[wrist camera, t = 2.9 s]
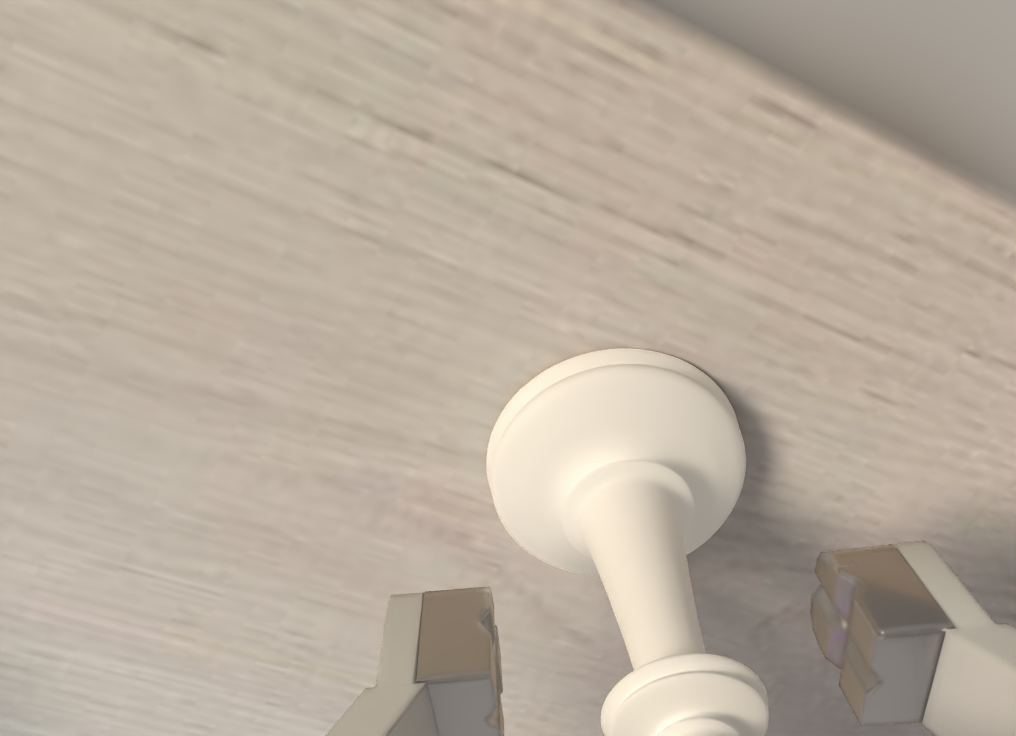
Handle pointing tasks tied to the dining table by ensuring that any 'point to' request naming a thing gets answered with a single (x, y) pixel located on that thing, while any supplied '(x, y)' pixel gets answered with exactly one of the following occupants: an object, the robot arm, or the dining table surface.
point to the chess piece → (633, 521)
